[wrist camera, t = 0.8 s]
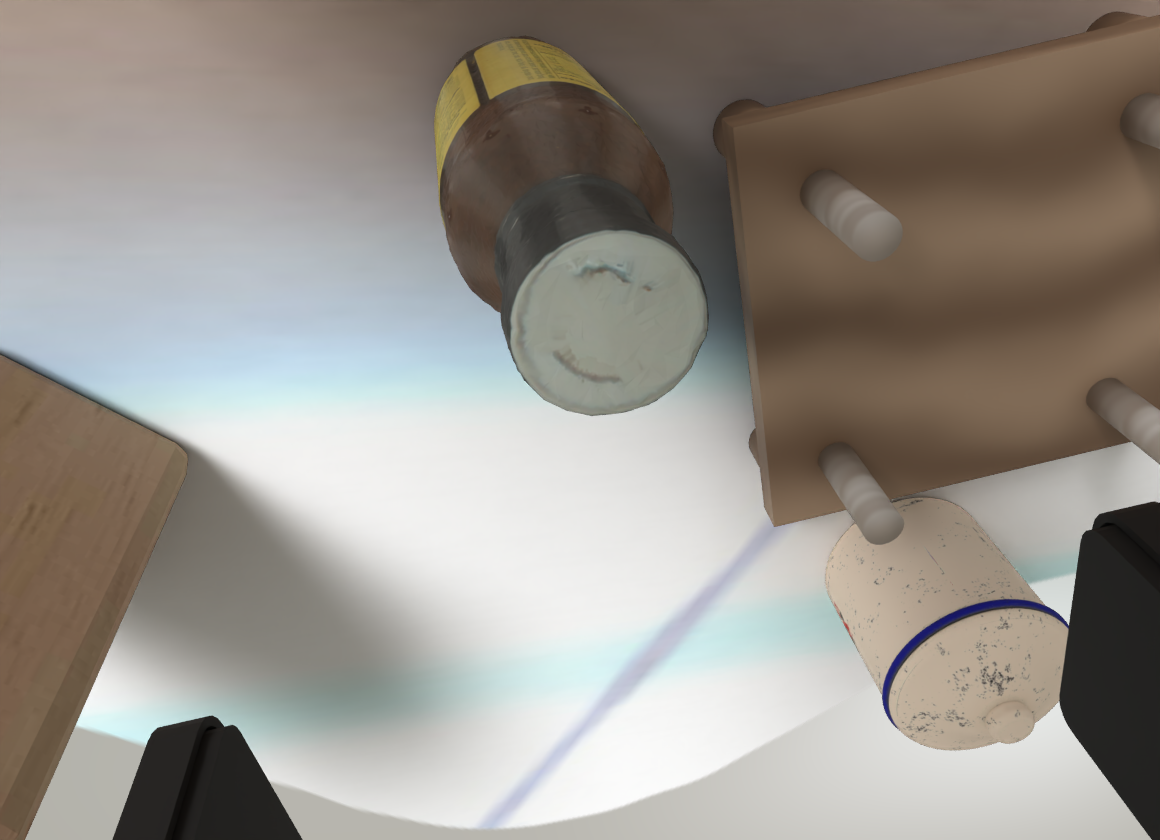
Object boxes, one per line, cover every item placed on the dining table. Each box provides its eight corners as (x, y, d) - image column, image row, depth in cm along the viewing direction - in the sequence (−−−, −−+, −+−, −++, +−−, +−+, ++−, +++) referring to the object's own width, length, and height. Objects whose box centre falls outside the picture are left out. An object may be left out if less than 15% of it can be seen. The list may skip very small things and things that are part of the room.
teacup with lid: (788, 603, 49) (875, 784, 39) (873, 471, 45) (992, 636, 35) (962, 643, 53) (1082, 819, 43) (1054, 524, 49) (1210, 687, 39)
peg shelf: (701, 101, 35) (778, 166, 27) (1149, -5, 35) (1362, 28, 27) (746, 471, 44) (813, 602, 36) (1098, 387, 44) (1244, 499, 36)
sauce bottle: (494, 226, 36) (537, 525, 19) (401, 89, 33) (355, 302, 16) (631, 140, 35) (803, 377, 18) (548, -10, 32) (663, 107, 15)
